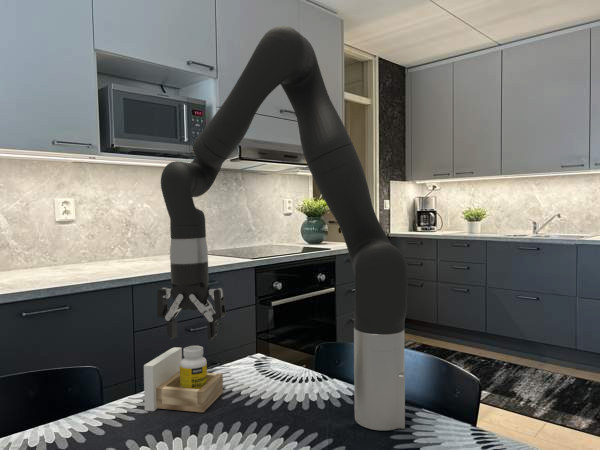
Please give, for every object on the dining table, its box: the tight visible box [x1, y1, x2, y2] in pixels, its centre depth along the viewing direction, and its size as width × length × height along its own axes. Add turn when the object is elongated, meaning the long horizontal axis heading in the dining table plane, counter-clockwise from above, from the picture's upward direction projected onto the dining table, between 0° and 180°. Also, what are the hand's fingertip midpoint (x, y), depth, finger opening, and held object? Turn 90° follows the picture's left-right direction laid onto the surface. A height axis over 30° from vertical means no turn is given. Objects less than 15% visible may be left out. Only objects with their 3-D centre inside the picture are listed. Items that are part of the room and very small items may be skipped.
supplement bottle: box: [180, 345, 208, 389], centre depth 94 cm, size 5×5×10 cm
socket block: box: [156, 371, 224, 413], centre depth 95 cm, size 10×10×4 cm
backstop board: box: [143, 347, 183, 412], centre depth 96 cm, size 2×12×9 cm, turn 167°
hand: (192, 338), depth 94 cm, fingers open, 8 cm apart
